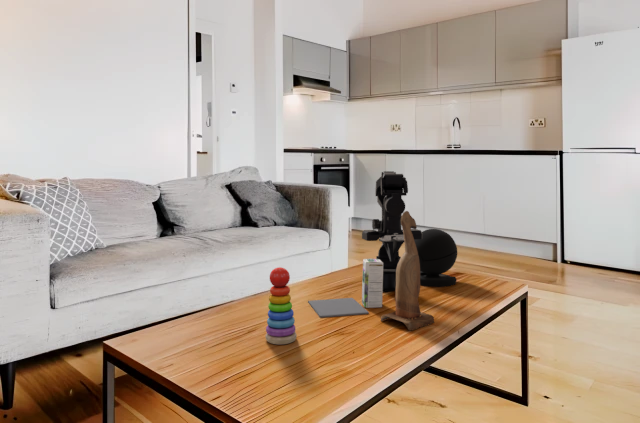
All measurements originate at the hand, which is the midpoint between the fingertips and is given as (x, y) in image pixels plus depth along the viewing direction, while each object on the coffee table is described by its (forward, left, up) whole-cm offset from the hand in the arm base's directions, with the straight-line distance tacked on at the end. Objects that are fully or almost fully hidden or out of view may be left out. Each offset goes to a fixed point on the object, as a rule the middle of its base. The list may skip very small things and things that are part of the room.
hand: (391, 261), depth 158 cm
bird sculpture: (+3, +20, -14) cm, 25 cm away
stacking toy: (+40, +25, -14) cm, 50 cm away
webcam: (-26, -22, -14) cm, 36 cm away
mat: (+19, +2, -13) cm, 23 cm away
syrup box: (+7, +2, -14) cm, 16 cm away
